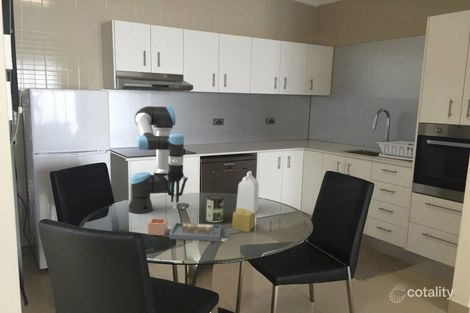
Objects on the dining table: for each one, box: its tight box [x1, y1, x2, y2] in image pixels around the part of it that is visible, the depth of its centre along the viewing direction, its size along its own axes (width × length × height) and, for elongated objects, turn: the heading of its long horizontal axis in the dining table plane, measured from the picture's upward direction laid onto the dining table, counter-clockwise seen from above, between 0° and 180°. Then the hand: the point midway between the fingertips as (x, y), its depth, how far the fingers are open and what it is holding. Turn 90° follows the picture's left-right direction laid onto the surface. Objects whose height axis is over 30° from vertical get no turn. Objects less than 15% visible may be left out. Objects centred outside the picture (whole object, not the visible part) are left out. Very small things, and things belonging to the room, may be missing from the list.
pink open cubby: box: [147, 217, 169, 236], centre depth 203 cm, size 9×9×6 cm
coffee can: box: [205, 194, 225, 223], centre depth 227 cm, size 10×10×14 cm
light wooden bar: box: [182, 223, 213, 234], centre depth 203 cm, size 8×4×16 cm
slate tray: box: [168, 222, 222, 242], centre depth 203 cm, size 26×18×2 cm
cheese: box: [231, 208, 256, 233], centre depth 214 cm, size 10×11×10 cm
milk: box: [235, 170, 259, 215], centre depth 245 cm, size 12×12×26 cm
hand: (174, 208), depth 201 cm, fingers closed
